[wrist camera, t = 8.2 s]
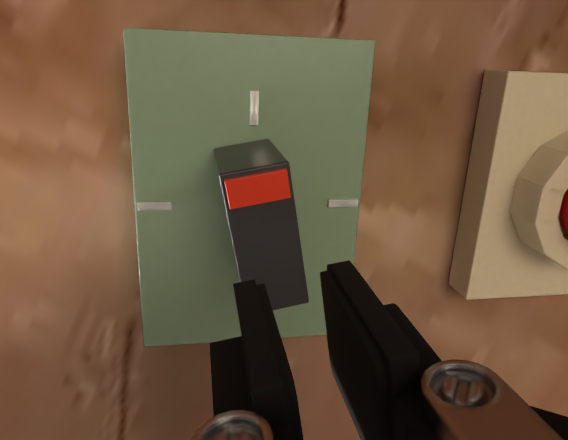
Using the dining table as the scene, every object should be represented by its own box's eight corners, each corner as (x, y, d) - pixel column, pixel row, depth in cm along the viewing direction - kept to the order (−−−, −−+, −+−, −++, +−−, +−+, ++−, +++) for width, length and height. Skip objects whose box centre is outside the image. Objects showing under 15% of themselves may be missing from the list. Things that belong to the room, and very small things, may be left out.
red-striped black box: (287, 254, 22) (311, 306, 18) (236, 265, 22) (247, 320, 17) (269, 138, 20) (290, 162, 16) (213, 148, 20) (218, 176, 15)
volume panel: (331, 304, 27) (348, 335, 24) (149, 314, 25) (143, 349, 22) (353, 41, 22) (377, 40, 19) (132, 30, 21) (122, 27, 18)
